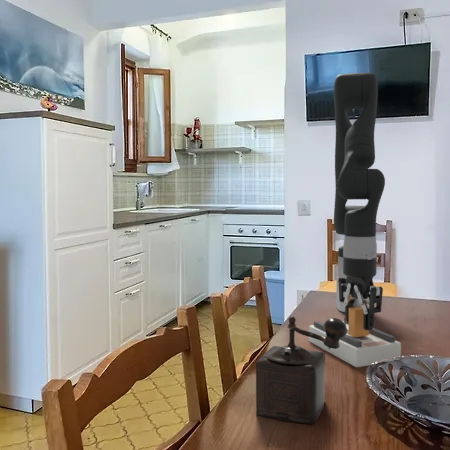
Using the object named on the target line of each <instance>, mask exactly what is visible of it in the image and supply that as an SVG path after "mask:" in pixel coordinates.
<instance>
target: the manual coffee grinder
mask: <svg viewBox="0 0 450 450" xmlns="http://www.w3.org/2000/svg"><path fill="white" fill-rule="evenodd" d="M296 321H297V319H296V317H294V316H292V315H290V316H289V318H288V323H289V324H288V325H287V329H288V331H289V339H288V341H289V342H288V344H287V345H283V346H280V345H279V346H278V345H273V346H272V347H270V348H269V349H267V351H266V352H265V353H263V355H262V356H261V357H260V358H259V359H258V360H257V361H256V362H255V394H256V395H255V397H256V398H255V399H256V400H255V401H256V402H255V403H256V405H255V406H256V411H255V415H256V416H259V417H265V418H269V419H275V420H278V421H283V422H293V423H301V424H310V425H311V424H314V423H315V422H316V421H317V420H318V419H319V416H321V414H322V412H323V410H324V405H325V401H326V396H325V395H326V393H325V392H326V391H325V390H326V388H325V386H326V385H325V382H326V381H325V380H326V379H325V377H326V376H325V375H326V374H325V373H326V353H325V352H322V351H315V350H310V349H309V350H308V349H306V348H304V347H302V346H300V345H296V344H295V332H296V333H297V334H299V335H303V336H306V337H308V338H309V337H312V338H315V339H317V340H320V341H322V342H323V343H324V345H326V346H327V347H329V349H330V348H333V349H337V348H339V347H340V345H339V340H340V339H341V338H342V337H343V336H345V335H346V333H347V327H346V324H345V323H344V322H343V321H344V320H341V319H339V318H336V317H331V318H327V319H326V321H325V322H324V323H323V324H324V330H325V332H326V337H323V336H321V335H318V334H315V333H312V332H309V330H305V329H302V328H299V327H297V325H296Z"/></svg>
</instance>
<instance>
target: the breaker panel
mask: <svg viewBox="0 0 450 450" xmlns="http://www.w3.org/2000/svg"><path fill="white" fill-rule="evenodd" d="M342 321H343V322H344V320H342ZM345 324H346V323H345ZM346 327H347V333H346V334H347V335H348V329H349V324H346ZM308 331H309V332H312V333H315V334H318V335H321V336H323V337H326V332H325V331H323V330H321V329H318V328H316V327H314V324H311V325H308ZM349 336H350V335H349ZM351 337H353V336H351ZM353 338H355V339H357V340H360V341H362V347H358V348H357V347H355V346H353V345H351V344H349V343H347V342H345V341H343V340H341V339H340V340H339V345H340V347H339V348H337V349H333V348H330V349H329V347H327V346H326V345H324V343H323V342H322V341H320V340H317V339H315V338H312V337H308V342H310V343H312V344H313V345H315V346H317V347H318V348H321V349H322V350H323V351H326V352H328V353H329V354H332V355H333V356H334V357H337V358H338V359H340V360H342V361H344V362H346V363H347V364H350V365H351V366H353V367H355V368H361V367H366V366H371V365H370V364H371V363H373V362H375V361H378V360H382V359H387V358H392V357H399V356H401V357H402V342H400V341H399V340H398V341H397V340H396V339H395V342H391V343H390V342H388V341H386V340H383V339H381V338H379V337H376V336H374V335H372V334H369V335H368V336H361V337H353Z"/></svg>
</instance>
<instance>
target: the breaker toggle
mask: <svg viewBox="0 0 450 450" xmlns="http://www.w3.org/2000/svg"><path fill="white" fill-rule="evenodd" d="M363 314H365V313H364V311H363V307H362V306H361V307H352V308H349V329H348V335H350V336H353V337H361V336H368V335H369V330H365V329H363Z"/></svg>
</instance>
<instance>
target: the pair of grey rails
mask: <svg viewBox="0 0 450 450" xmlns="http://www.w3.org/2000/svg"><path fill="white" fill-rule="evenodd" d="M343 321H344V323H346V324H349V322H346V321H345V317H344V318H343ZM313 325H314V327H316V328H318V329H321V330H323V331H325V330H324V323H323V322H321V321H318V320H317V321H314V322H313ZM369 334H372V335H374V336H376V337H379V338H381V339H383V340H386V341H388V342H390V343H391V342H395V340H396V336H394V335H391V334H389V333H386V332H384V331H382V330H379V329H377V328H374V327H373V329H372V330H369ZM341 340H343V341H345V342H347V343H349V344H351V345H353V346H355V347H357V348H358V347H362V341H360V340H357V339H355V338H353V337H351V336H349V335H347V334H346V335H345V336H343V337H342V338H341Z"/></svg>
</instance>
